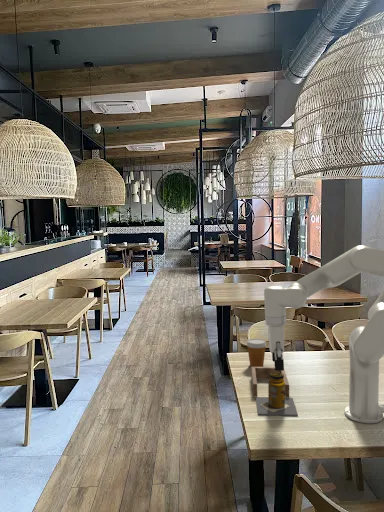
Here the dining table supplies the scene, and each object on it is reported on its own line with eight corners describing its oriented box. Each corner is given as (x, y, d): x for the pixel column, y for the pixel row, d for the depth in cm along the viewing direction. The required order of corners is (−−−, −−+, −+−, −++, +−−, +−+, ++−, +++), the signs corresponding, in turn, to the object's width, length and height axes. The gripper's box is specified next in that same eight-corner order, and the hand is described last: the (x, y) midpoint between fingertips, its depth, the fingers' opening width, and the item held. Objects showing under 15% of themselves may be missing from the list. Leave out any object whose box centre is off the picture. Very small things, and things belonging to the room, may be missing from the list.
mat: (292, 399, 161) (292, 397, 161) (297, 416, 147) (297, 414, 147) (256, 398, 162) (256, 397, 162) (257, 415, 148) (257, 413, 148)
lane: (283, 378, 182) (283, 367, 182) (289, 397, 163) (289, 384, 162) (251, 377, 184) (251, 366, 183) (253, 396, 164) (253, 384, 164)
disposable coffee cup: (245, 362, 204) (245, 338, 203) (265, 362, 203) (265, 338, 202) (247, 369, 194) (247, 344, 193) (268, 369, 194) (267, 343, 193)
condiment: (290, 406, 153) (289, 375, 152) (273, 412, 149) (272, 380, 148) (276, 399, 159) (275, 369, 158) (259, 405, 155) (259, 374, 154)
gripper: (263, 315, 161) (266, 358, 162) (267, 326, 144) (269, 374, 145) (283, 314, 160) (285, 357, 161) (289, 325, 143) (291, 373, 144)
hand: (278, 365), depth 153 cm, fingers open, 9 cm apart
